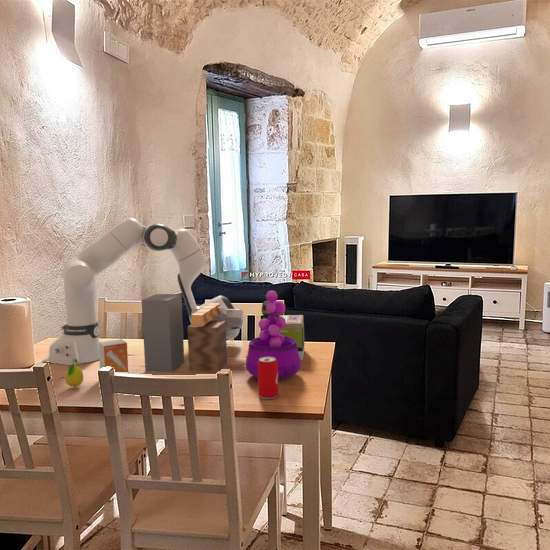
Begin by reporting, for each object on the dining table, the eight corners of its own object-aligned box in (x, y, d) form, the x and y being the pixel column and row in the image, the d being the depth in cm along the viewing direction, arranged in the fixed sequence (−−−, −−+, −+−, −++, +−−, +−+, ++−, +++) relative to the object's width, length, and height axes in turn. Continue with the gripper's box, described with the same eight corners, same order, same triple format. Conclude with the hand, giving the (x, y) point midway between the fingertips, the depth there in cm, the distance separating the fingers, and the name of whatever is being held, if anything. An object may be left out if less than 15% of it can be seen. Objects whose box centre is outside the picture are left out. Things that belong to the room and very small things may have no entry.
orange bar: (210, 313, 207) (210, 303, 206) (220, 313, 206) (220, 303, 205) (191, 326, 185) (191, 314, 185) (202, 326, 184) (202, 315, 184)
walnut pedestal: (189, 370, 193) (187, 326, 191) (199, 361, 204) (197, 320, 202) (218, 371, 191) (217, 327, 189) (227, 362, 202) (225, 320, 200)
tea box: (280, 350, 218) (279, 314, 216) (304, 350, 217) (304, 314, 215) (276, 360, 203) (275, 322, 201) (303, 361, 202) (302, 322, 200)
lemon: (79, 383, 182) (77, 354, 180) (89, 386, 178) (87, 357, 177) (60, 388, 177) (58, 359, 175) (70, 392, 173) (68, 362, 172)
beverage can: (281, 394, 167) (280, 356, 166) (274, 401, 161) (273, 362, 160) (262, 392, 169) (261, 355, 168) (255, 399, 164) (254, 360, 162)
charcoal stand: (159, 360, 206) (156, 293, 203) (184, 361, 204) (181, 294, 201) (145, 371, 193) (141, 300, 190) (171, 372, 192) (168, 300, 188)
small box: (105, 383, 181) (103, 346, 179) (100, 378, 186) (98, 342, 184) (129, 379, 185) (127, 342, 183) (123, 374, 190) (121, 338, 189)
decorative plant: (265, 365, 197) (263, 285, 193) (310, 373, 188) (309, 288, 184) (235, 380, 181) (232, 292, 177) (283, 389, 172) (281, 296, 168)
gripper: (198, 312, 218) (187, 300, 205) (247, 313, 214) (239, 301, 202) (196, 327, 216) (185, 316, 203) (245, 328, 212) (237, 317, 199)
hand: (212, 309), depth 202 cm, fingers closed on orange bar, 4 cm apart
